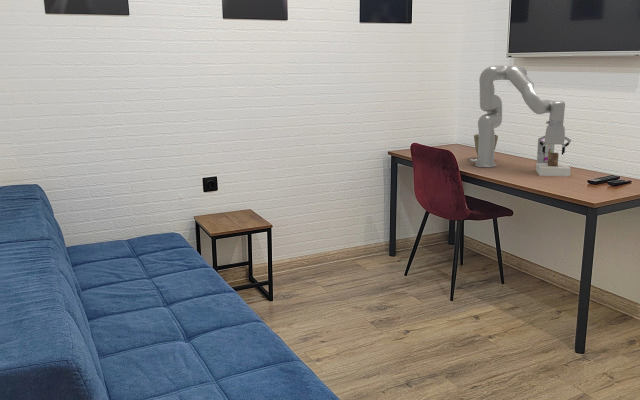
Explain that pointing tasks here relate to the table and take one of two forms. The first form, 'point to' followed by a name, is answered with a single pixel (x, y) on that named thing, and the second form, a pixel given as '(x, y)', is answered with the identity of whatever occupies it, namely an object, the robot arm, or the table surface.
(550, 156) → the walnut block
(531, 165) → the table surface
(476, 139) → the plant pot
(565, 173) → the riser block
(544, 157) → the candy bar box
